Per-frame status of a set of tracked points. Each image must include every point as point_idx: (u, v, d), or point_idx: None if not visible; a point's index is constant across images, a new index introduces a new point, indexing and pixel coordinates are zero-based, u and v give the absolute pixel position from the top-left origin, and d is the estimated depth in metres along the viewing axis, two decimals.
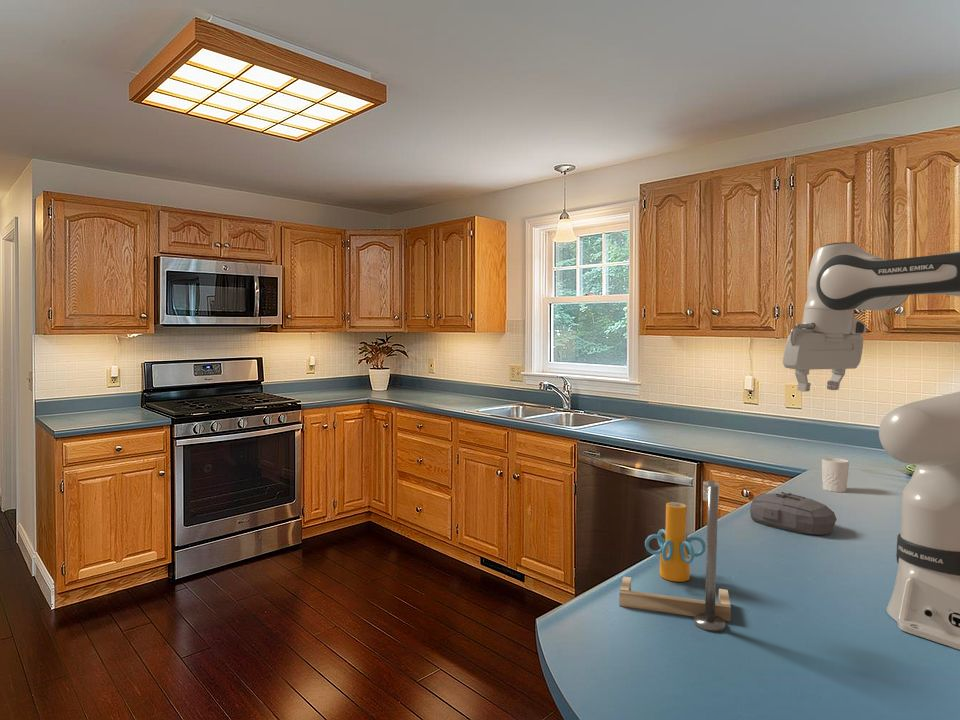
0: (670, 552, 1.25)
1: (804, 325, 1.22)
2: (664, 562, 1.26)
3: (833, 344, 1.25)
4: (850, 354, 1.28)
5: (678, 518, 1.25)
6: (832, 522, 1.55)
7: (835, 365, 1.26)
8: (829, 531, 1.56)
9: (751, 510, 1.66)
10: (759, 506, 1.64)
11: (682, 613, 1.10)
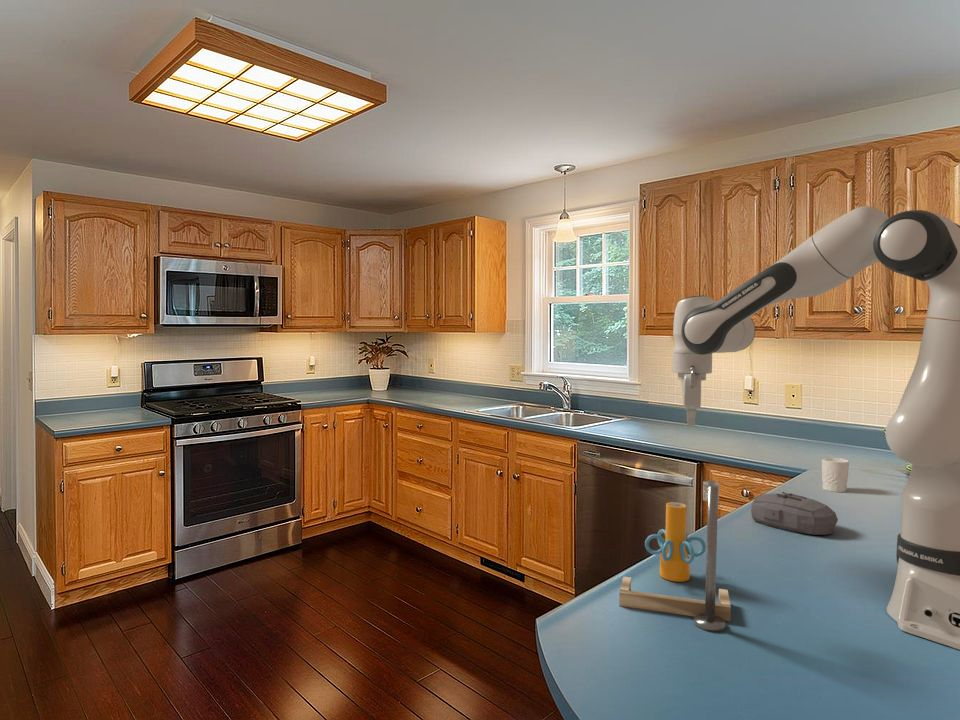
0: (670, 552, 1.25)
1: None
2: (664, 562, 1.26)
3: None
4: None
5: (678, 518, 1.25)
6: (833, 522, 1.55)
7: None
8: (830, 531, 1.56)
9: (752, 510, 1.66)
10: (760, 506, 1.64)
11: (682, 613, 1.10)
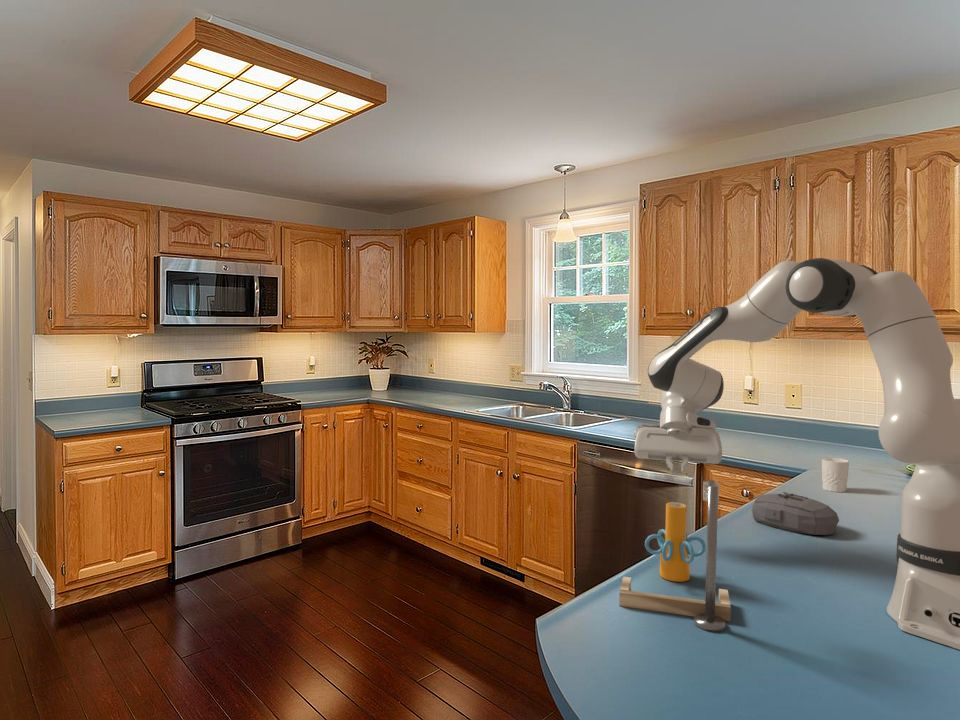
0: (670, 552, 1.25)
1: (646, 425, 1.56)
2: (664, 562, 1.26)
3: (680, 436, 1.50)
4: (704, 444, 1.47)
5: (678, 518, 1.25)
6: (835, 522, 1.55)
7: (685, 450, 1.47)
8: (831, 532, 1.56)
9: (753, 510, 1.66)
10: (761, 507, 1.64)
11: (682, 613, 1.10)
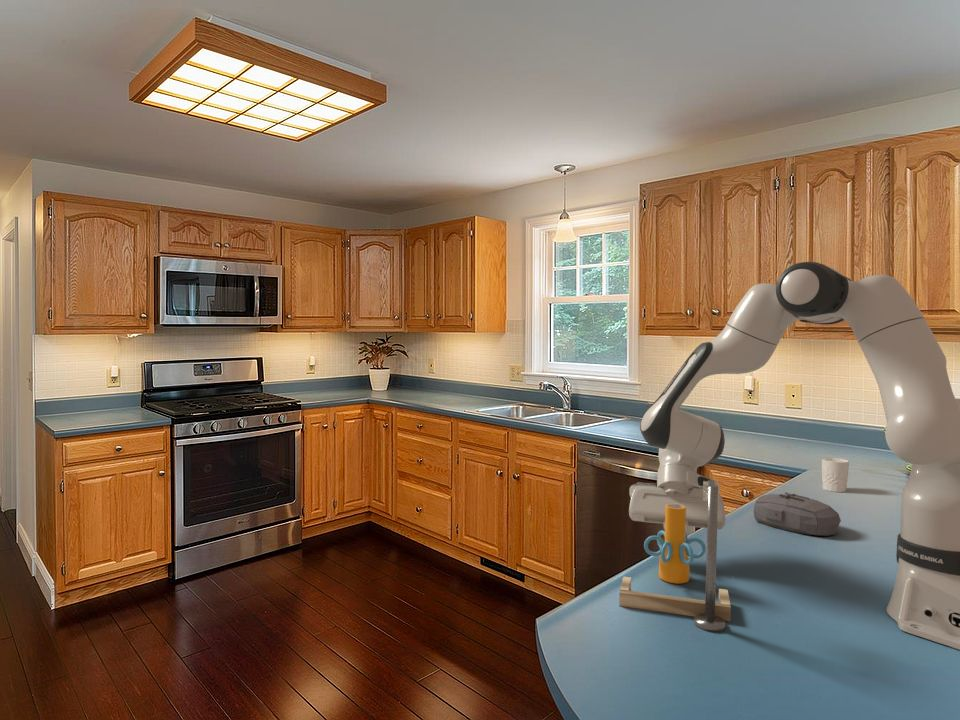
0: (670, 554, 1.24)
1: (642, 483, 1.43)
2: (663, 564, 1.25)
3: (679, 498, 1.37)
4: (706, 508, 1.34)
5: (678, 519, 1.24)
6: (836, 523, 1.55)
7: None
8: (833, 532, 1.55)
9: (755, 511, 1.66)
10: (763, 507, 1.63)
11: (682, 613, 1.10)
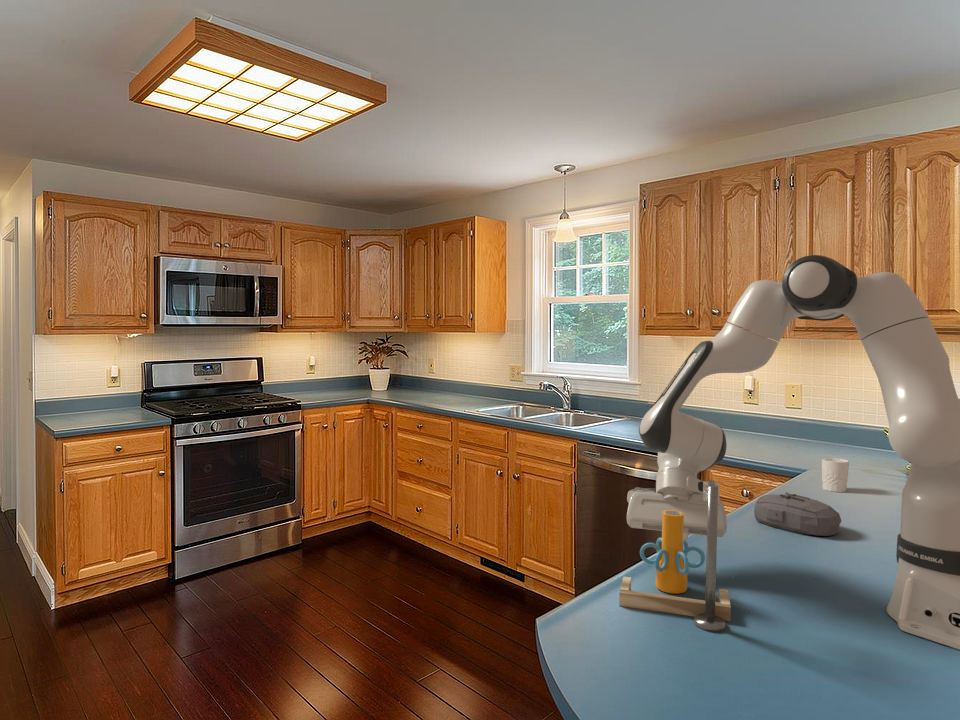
0: (665, 563, 1.19)
1: (640, 488, 1.37)
2: (659, 572, 1.20)
3: (679, 504, 1.32)
4: (707, 515, 1.28)
5: (674, 527, 1.19)
6: (837, 523, 1.54)
7: (684, 522, 1.28)
8: (834, 532, 1.55)
9: (755, 511, 1.66)
10: (763, 507, 1.63)
11: (682, 613, 1.10)
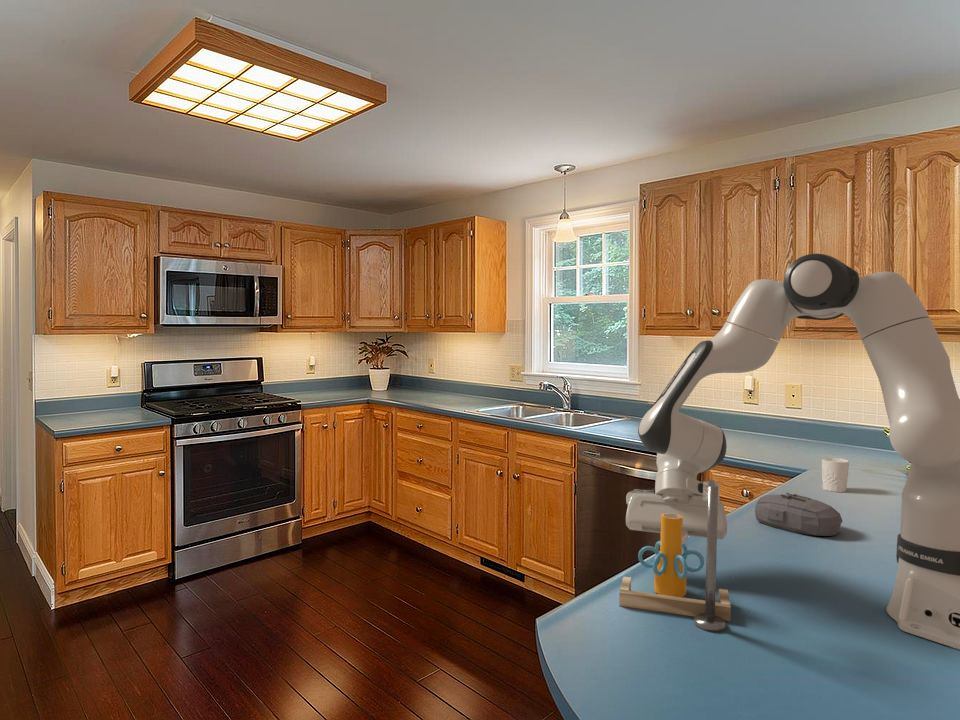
0: (664, 566, 1.17)
1: (640, 490, 1.36)
2: (657, 576, 1.18)
3: (679, 505, 1.30)
4: (706, 516, 1.27)
5: (673, 530, 1.17)
6: (838, 523, 1.54)
7: (684, 524, 1.27)
8: (835, 532, 1.55)
9: (756, 511, 1.65)
10: (764, 507, 1.63)
11: (682, 613, 1.10)
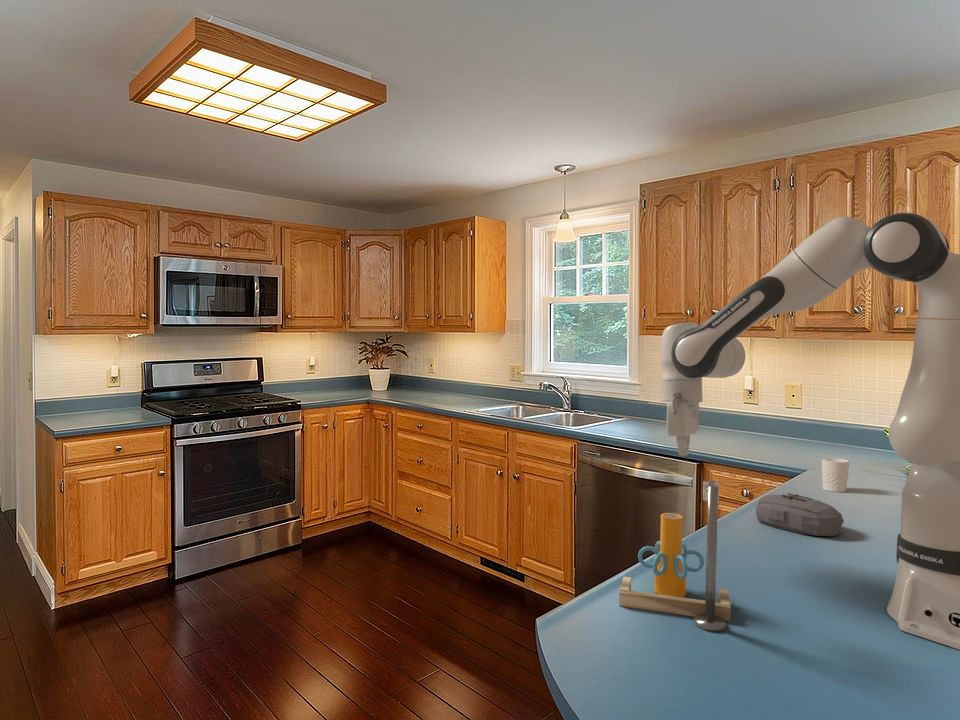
0: (664, 566, 1.17)
1: (678, 395, 1.33)
2: (657, 576, 1.18)
3: (689, 412, 1.40)
4: (695, 421, 1.44)
5: (673, 530, 1.17)
6: (839, 523, 1.54)
7: (692, 430, 1.40)
8: (836, 533, 1.55)
9: (757, 511, 1.65)
10: (765, 507, 1.63)
11: (682, 613, 1.10)
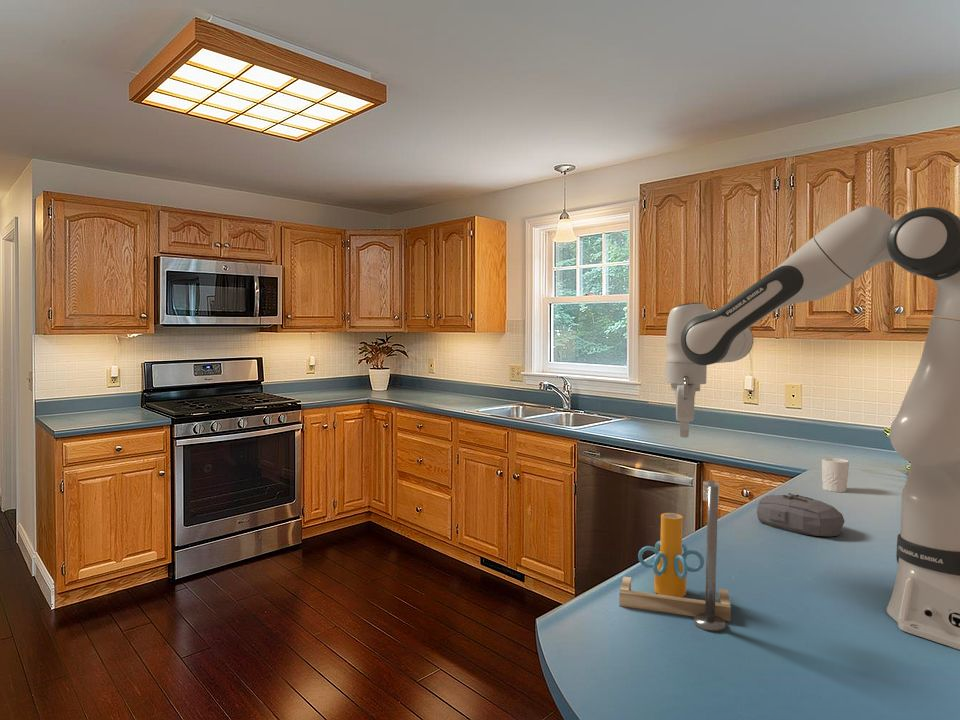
0: (664, 566, 1.17)
1: None
2: (657, 576, 1.18)
3: None
4: None
5: (673, 530, 1.17)
6: (840, 523, 1.54)
7: None
8: (837, 533, 1.55)
9: (758, 511, 1.65)
10: (766, 508, 1.63)
11: (682, 613, 1.10)
